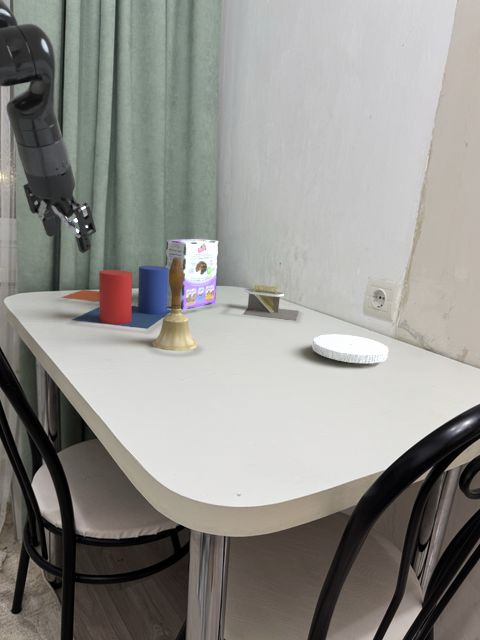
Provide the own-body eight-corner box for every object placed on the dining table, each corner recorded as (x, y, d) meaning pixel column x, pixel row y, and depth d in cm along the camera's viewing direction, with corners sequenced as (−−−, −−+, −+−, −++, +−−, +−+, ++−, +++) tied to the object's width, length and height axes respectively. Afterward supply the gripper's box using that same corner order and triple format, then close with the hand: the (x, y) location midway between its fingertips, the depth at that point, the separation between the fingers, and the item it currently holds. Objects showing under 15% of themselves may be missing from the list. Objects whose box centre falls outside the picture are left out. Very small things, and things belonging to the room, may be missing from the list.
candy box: (197, 300, 134) (201, 238, 130) (215, 304, 132) (219, 240, 127) (163, 307, 123) (165, 238, 118) (182, 311, 120) (185, 241, 116)
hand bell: (158, 354, 87) (161, 260, 83) (146, 340, 94) (149, 254, 90) (204, 351, 91) (209, 262, 86) (189, 339, 98) (193, 256, 93)
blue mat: (70, 321, 102) (70, 319, 102) (108, 304, 121) (108, 303, 120) (147, 330, 101) (147, 328, 101) (173, 311, 119) (173, 310, 119)
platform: (295, 320, 122) (298, 293, 120) (223, 311, 124) (224, 285, 122) (299, 310, 134) (301, 286, 132) (232, 303, 135) (234, 278, 134)
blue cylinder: (134, 312, 113) (134, 267, 111) (143, 307, 119) (144, 264, 117) (161, 315, 113) (163, 270, 110) (169, 310, 119) (171, 267, 116)
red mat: (60, 298, 122) (60, 297, 122) (83, 291, 133) (82, 289, 133) (108, 304, 121) (108, 302, 121) (127, 295, 133) (127, 294, 132)
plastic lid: (297, 354, 94) (298, 341, 93) (334, 342, 105) (336, 330, 104) (365, 374, 86) (367, 360, 86) (398, 359, 97) (400, 346, 96)
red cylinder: (94, 322, 102) (93, 272, 99) (106, 315, 108) (106, 269, 106) (124, 325, 102) (125, 276, 99) (135, 318, 108) (136, 272, 105)
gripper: (-2, 159, 85) (27, 238, 97) (60, 186, 80) (81, 266, 92) (34, 142, 89) (57, 220, 101) (94, 167, 85) (110, 246, 97)
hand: (68, 242), depth 97 cm, fingers open, 8 cm apart
